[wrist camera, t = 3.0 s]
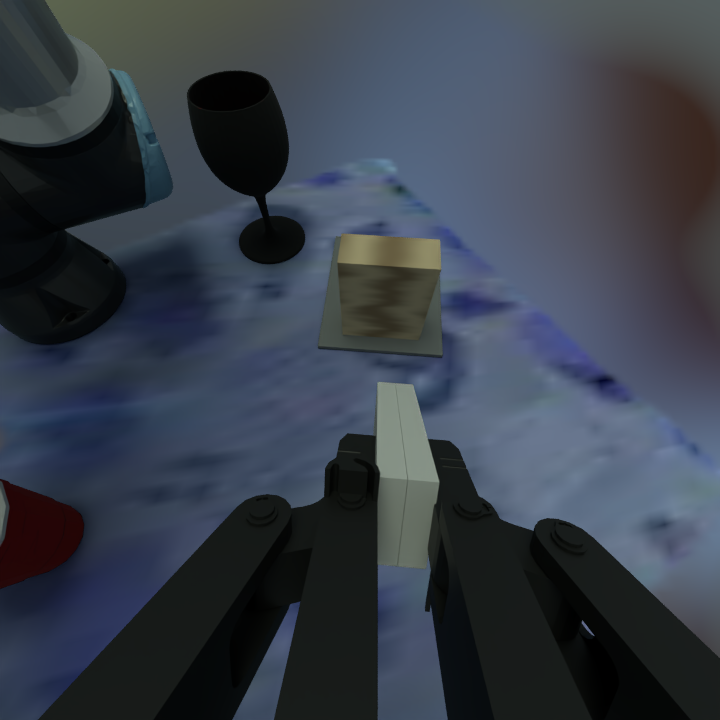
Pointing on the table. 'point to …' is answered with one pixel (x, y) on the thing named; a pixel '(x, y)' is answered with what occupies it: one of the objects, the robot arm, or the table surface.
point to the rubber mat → (336, 340)
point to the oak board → (386, 284)
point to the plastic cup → (34, 533)
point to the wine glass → (246, 153)
